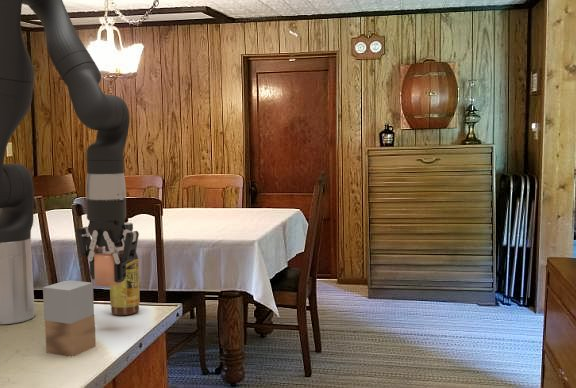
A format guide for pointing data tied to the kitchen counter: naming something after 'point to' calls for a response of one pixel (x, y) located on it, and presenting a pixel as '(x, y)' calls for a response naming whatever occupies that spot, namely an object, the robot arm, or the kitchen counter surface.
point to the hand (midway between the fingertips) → (108, 279)
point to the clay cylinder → (104, 269)
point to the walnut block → (70, 337)
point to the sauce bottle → (127, 288)
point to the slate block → (68, 301)
